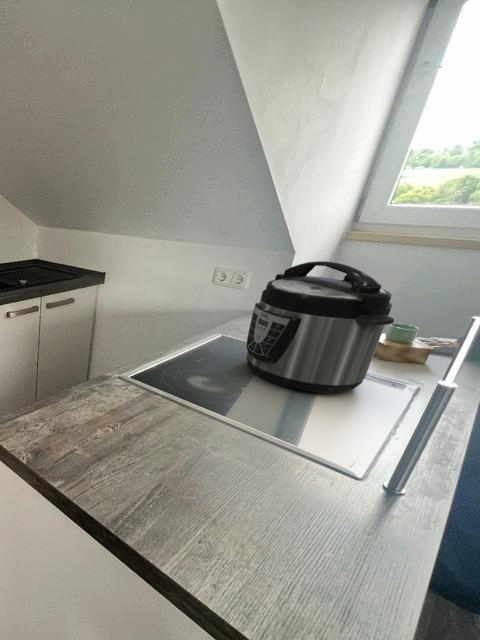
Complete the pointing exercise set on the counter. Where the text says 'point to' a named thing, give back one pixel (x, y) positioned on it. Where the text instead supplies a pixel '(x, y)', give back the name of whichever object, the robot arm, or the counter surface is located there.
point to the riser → (403, 350)
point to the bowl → (401, 333)
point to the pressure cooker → (317, 328)
